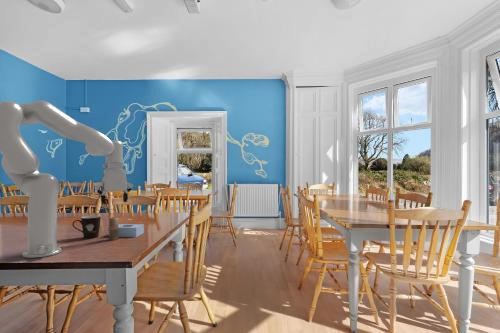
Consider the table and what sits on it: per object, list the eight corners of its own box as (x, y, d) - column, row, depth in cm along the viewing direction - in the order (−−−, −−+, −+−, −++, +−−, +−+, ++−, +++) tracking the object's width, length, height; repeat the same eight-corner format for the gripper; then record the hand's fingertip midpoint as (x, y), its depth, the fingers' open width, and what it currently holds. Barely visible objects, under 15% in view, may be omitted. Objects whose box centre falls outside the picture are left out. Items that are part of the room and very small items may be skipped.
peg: (119, 239, 143) (119, 218, 143) (110, 240, 140) (110, 219, 141) (116, 237, 146) (117, 217, 146) (108, 239, 143) (108, 218, 144)
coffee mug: (104, 235, 151) (104, 215, 152) (94, 239, 143) (94, 218, 143) (82, 235, 153) (82, 215, 153) (71, 239, 144) (71, 218, 144)
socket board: (143, 233, 157) (143, 224, 157) (136, 236, 148) (136, 227, 148) (117, 232, 158) (117, 224, 158) (108, 236, 149) (108, 227, 149)
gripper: (96, 167, 135) (97, 205, 135) (135, 166, 147) (135, 201, 147) (92, 167, 141) (92, 203, 141) (129, 166, 152) (130, 200, 152)
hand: (114, 202), depth 144 cm, fingers open, 9 cm apart
